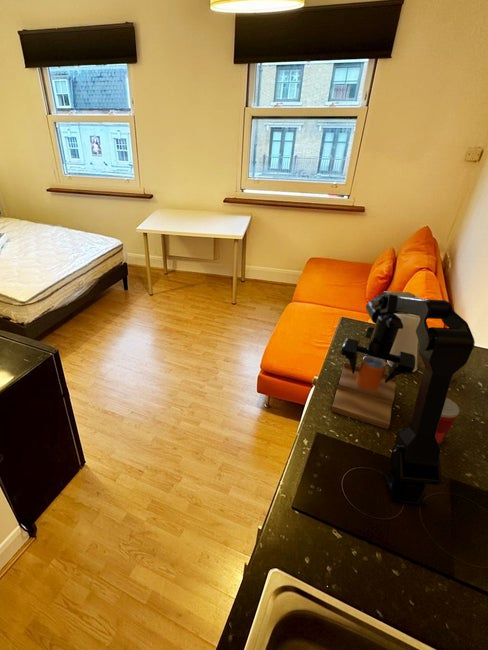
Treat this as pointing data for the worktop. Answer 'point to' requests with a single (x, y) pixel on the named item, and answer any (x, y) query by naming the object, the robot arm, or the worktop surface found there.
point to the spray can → (406, 337)
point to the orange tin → (371, 372)
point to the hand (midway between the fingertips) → (369, 377)
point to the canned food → (446, 419)
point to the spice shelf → (364, 399)
